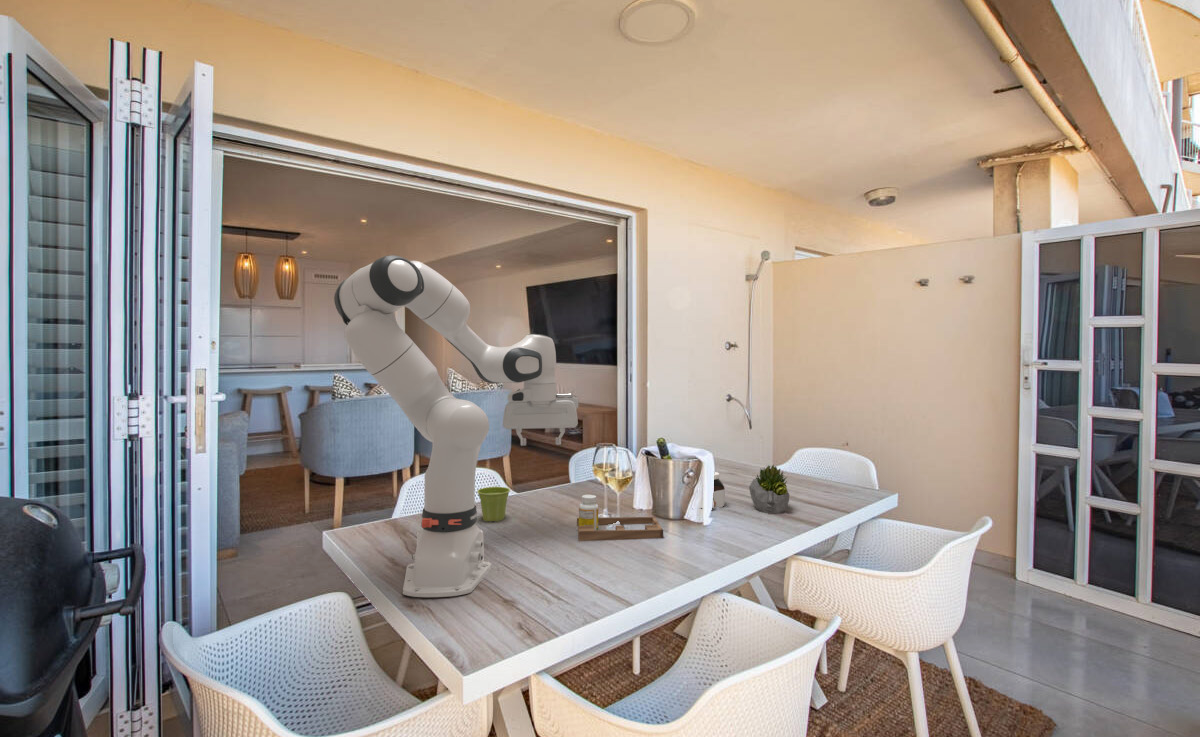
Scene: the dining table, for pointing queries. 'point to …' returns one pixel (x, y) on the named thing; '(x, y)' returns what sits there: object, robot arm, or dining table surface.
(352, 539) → the dining table surface
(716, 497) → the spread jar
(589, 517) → the supplement bottle
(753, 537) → the dining table surface
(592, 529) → the frame
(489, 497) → the plant pot
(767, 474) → the potted plant
